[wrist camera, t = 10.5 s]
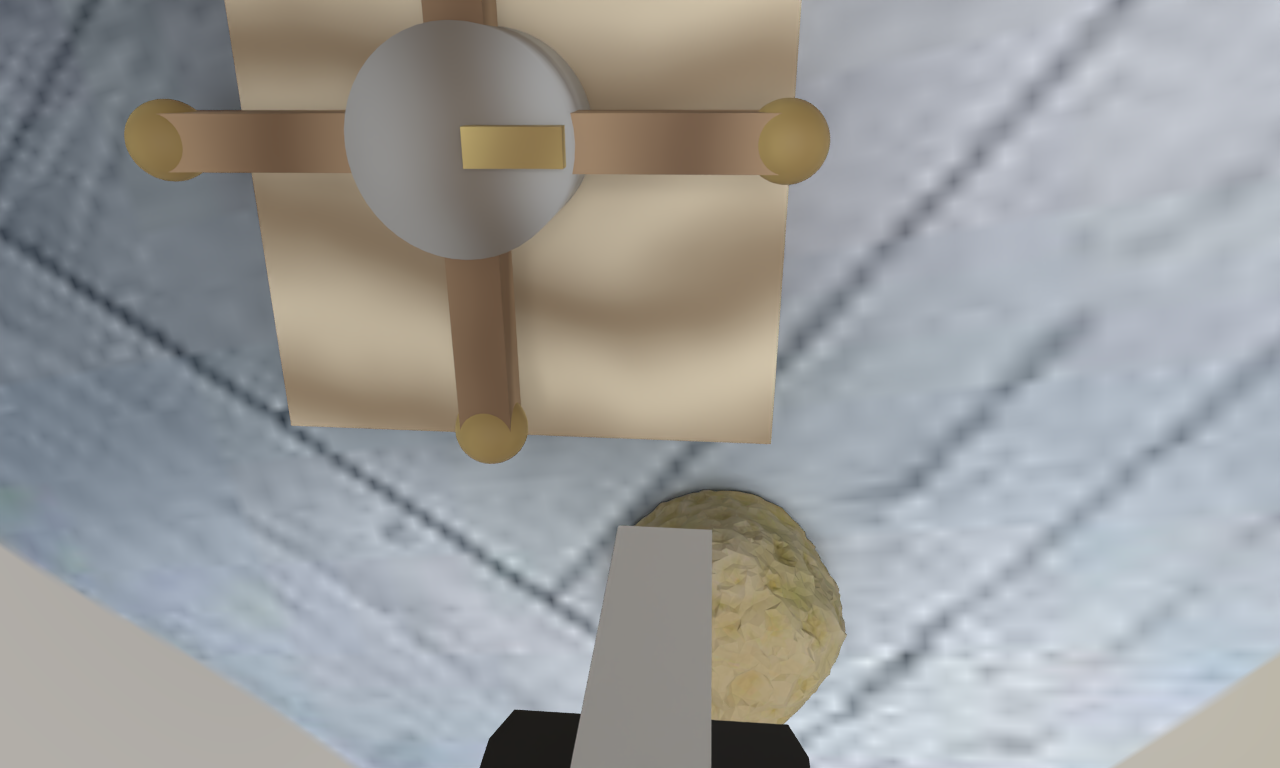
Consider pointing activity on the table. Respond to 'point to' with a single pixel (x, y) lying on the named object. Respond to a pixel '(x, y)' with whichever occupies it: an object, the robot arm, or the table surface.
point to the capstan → (476, 167)
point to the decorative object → (761, 605)
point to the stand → (539, 234)
